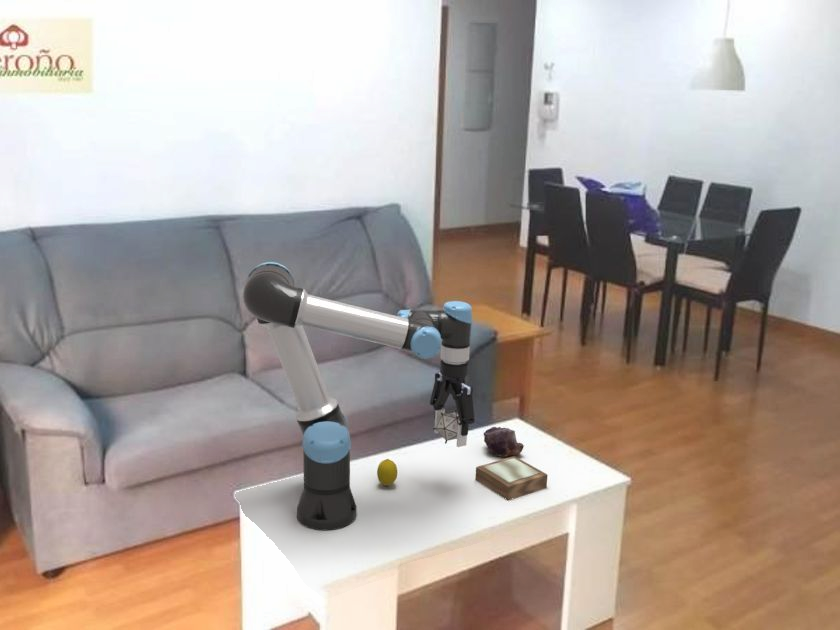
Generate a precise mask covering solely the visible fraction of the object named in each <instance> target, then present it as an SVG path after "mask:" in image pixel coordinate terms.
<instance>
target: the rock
mask: <svg viewBox="0 0 840 630" xmlns="http://www.w3.org/2000/svg"><path fill="white" fill-rule="evenodd" d="M483 437H484V438H483V439H484V440H483V441H484V443H485V445H486V447H487V449H488V450H489V452H490V453H491V454H492V455H493V456H496V457H502V458H503V457H506V458H508V457H509V456H515V455H520V454H521V453H522V451H523V450H524V447H525V445H524V444H523V443H522V442H518V441H517V437H516V431H515V430H513V429H510V428H508V427H501V426H499V427H497V426H492V427H490V428H487V429H486V430H485V432H483Z"/></svg>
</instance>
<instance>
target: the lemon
mask: <svg viewBox="0 0 840 630" xmlns="http://www.w3.org/2000/svg"><path fill="white" fill-rule="evenodd" d="M376 476H377V480H378V481H379V482H380V483H381V484H382V485H384V486H386V487H389V485H392V484H393V483H395V482H396V480H397V478H398V467H397V465H396V463H395V462H394V461H393V460H392V459H389V458H386V459H384V460H382V461H380V462H379V464H378V466H377V471H376Z"/></svg>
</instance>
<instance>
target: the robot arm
mask: <svg viewBox="0 0 840 630" xmlns="http://www.w3.org/2000/svg"><path fill="white" fill-rule="evenodd" d="M242 295H243V296H242V299H243V303H244V306H245V308H246V310H247V311H248V312H249V313H250V314H251V315H253V317H255V318H256V320H257V323H258V325H260V326H262V327H264V328H266V329H267V332H268V334H269V336H270V339H271V342H272V346H273V347H274V349H275V352H276V355H277V357H278V359H279V360H278V361H279V362H280V365H281V367H282V371H283V372H284V373H283V374H284V375H285V378H286V380H287V383H288V385H289V389H291V393H292V395H293V397H294V401H295V403H296V406H297V408H298V410H297V413H296V414H295V419H296V422H297V425H298V426H299V428H300V429H299V430H300V432H301V434H302V437H303V438H302V443H301V444H302V453H303V455H302V456H303V460H302V461H303V471H302V472H303V489H302V492H301V494H300V497H299V501H298V504H297V507H296V518H297V520H298V522H299V523H300V524H301V525H303V526H305V527H307V528H310V529H314V530H322V531H325V530H326V531H331V530H337V529H341V528H344V527H346V526H348V525H351V523H352V524H353V522H354V521H355V520H356V519H357V504H356V501H355V497H354V495H353V492H352V489H351V447H352V446H351V445H352V440H351V437H350V432H349V431H350V430H349V422H348V420H347V418H346V416H345V414H344V413H343V412H342V410H341V408H340V405H339V402H338V400H337V399H335V398H334V397H331V396H330V394H329V393H328V389H327V386H326V384H325V382H324V379H323V377H322V374H321V372H320V369H319V366H318V363H317V361H316V357H315V355H314V353H313V350H312V347H311V345H310V343H309V339H308V336H307V334H306V331H305V329H304V327H308V328H312V329H315V330H320V331H325V332H329V333H332V334H336V335H341V336H345V337H350V338H354V339H358V340H362V341H367V342H371V343H375V344H379V345H384V346H387V347H388V346H389V347H392V348H397V349H400V350H404V351H408V352H412V353H413V354H414V355H415V356H416V357H418V358H419V359H423V360H429V359H432V358H434V357H435V356H437V355H438V354H439V353H440V359H441V360H440V365H439V366H440V367H439V372H437V373H434V383H433V388H432V392H431V397H430V400H429V404H430V406H432V407H433V409H434V428H436V427H437V425H438V423H439V420H440V418H441V416H442V415H441V413H443V414H446V409H445V408H446V406H445V405H446V403H447V400H448V398H449V397H450V395H451V397H452V399H453V400H454V403H455V406H456V409H457V414H458V415H459V420H460V423H458V431H457V439H456V447H457V448H460V447H465V446H467V440H468V434H469V426H470V425H472V424H475V420H476V419H475V411H474V410H475V409H474V400H473V391H474V388H473V386H471V385H470V386H469V385H467V384H466V380H465V379H466V377H467V376H468V375H469V369H470V368H469V367H470V363H469V362H470V361H469V360H470V349H471V347H470V346H471V335H472V325H473V324H472V323H473V321H472V320H473V311H472V309H473V307H472V306H471V304H469V303H468V302H464V301H459V300H452V301H446V302H444V304H443V308H442V309H439V310H438V309H413V308H410V309H400V310H399V311H398V312H397V315H393V314H389V313H386V312H381V311H376V310H373V309H369V308H365V307H361V306H356V305H352V304H348V303H344V302H340V301H336V300H333V299H330V298H328V299H327V298H324V297H321V296H320V297H319V296H315V295H312V294H308V293H307V291H306V290H305V288H301V287H298V286H295V279H294V277H293V274H292V273H291V272H290V270H289V269H288V267H286V266H284V265H283V264H281V263H279V262H275V261H267V262H263V263H260V264H259V265H257V266H255V267H254V268H253V269H251V271H250V272H249V274H248V275H247V278H246V282H245V285H244V288H243V294H242ZM433 431H434V432H433V433H434V434H440V433H439V432H438V431H437V430H436V429H435V430H434V429H433Z"/></svg>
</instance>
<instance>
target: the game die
mask: <svg viewBox="0 0 840 630" xmlns="http://www.w3.org/2000/svg"><path fill="white" fill-rule="evenodd" d="M441 415H442V416H441V418H440V420H439V423H438V425H437V427H436V428H435V427H433V428H432V430H433V431H434V430H435V429H436V430H437V431H438V432H439V433H438V434H440V436H442V438H443V439H444V440H445V441H444V443H445V444H446V445H447V443H448V441H451V440H457V431H458V423H460V420H459V415H458V411H457V408H456V409H455V410H454V412H448V413H445V414H443V413H441Z"/></svg>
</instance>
